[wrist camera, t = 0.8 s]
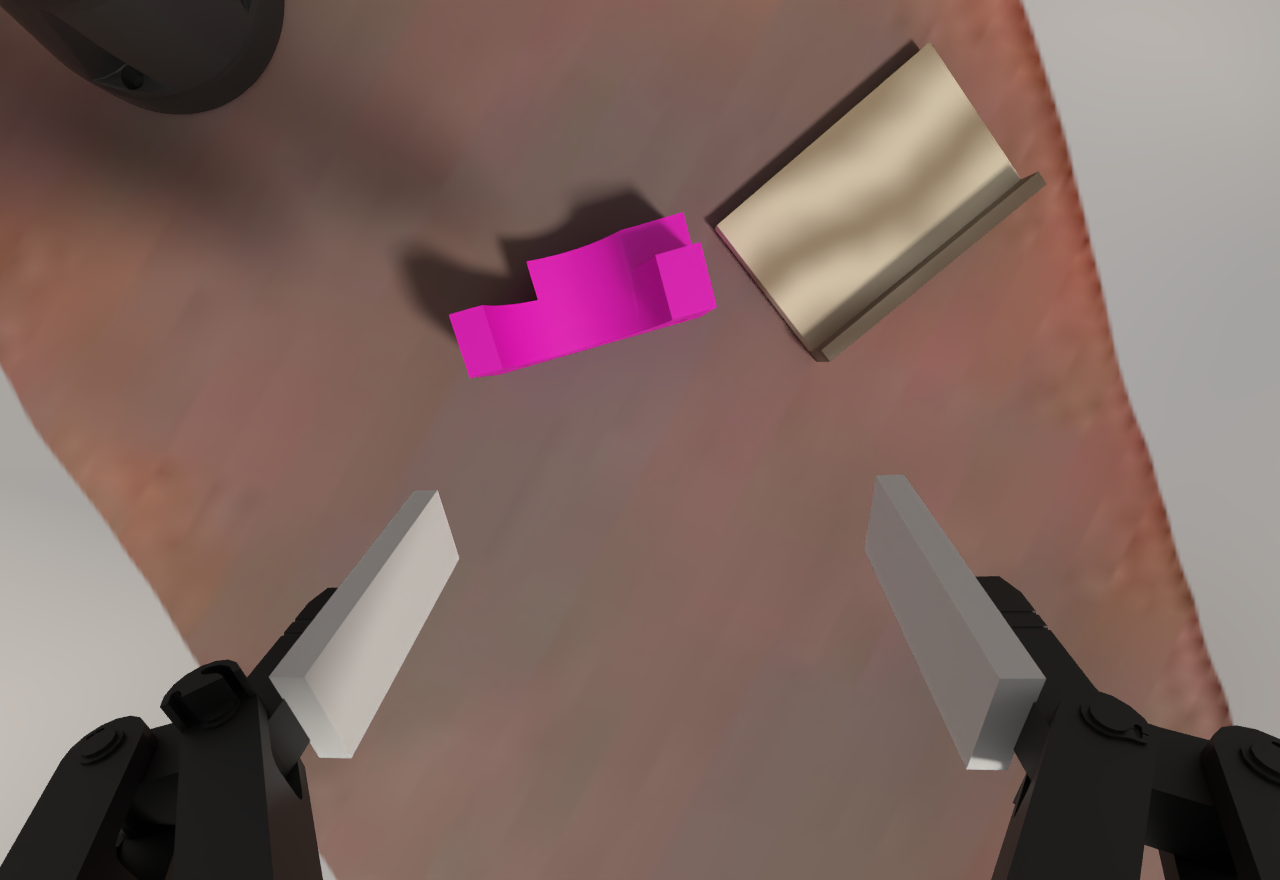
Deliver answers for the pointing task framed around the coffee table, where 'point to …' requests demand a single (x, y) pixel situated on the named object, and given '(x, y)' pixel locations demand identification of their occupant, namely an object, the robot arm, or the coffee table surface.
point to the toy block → (591, 299)
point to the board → (875, 207)
